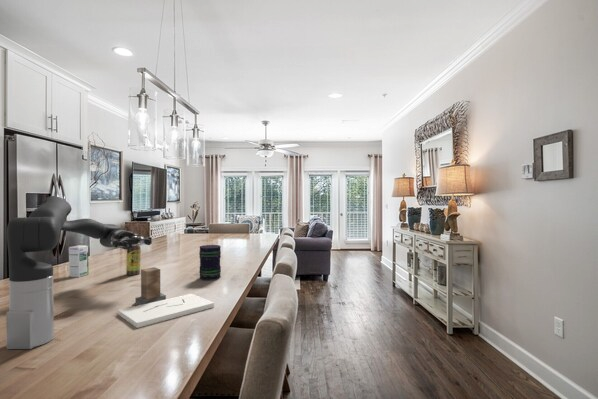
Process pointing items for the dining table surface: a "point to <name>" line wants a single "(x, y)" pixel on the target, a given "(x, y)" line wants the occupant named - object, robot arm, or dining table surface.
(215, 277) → the storage jar
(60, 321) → the dining table surface
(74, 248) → the syrup box
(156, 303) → the board
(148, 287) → the block
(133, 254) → the sauce bottle
